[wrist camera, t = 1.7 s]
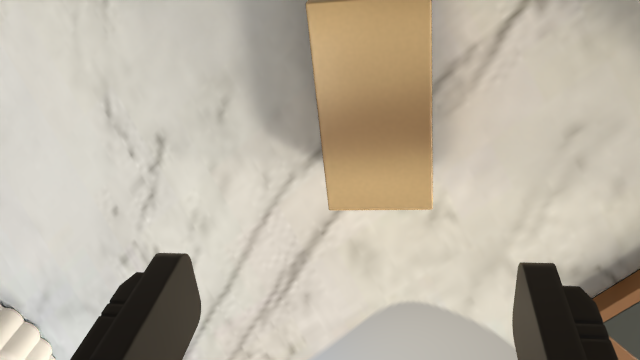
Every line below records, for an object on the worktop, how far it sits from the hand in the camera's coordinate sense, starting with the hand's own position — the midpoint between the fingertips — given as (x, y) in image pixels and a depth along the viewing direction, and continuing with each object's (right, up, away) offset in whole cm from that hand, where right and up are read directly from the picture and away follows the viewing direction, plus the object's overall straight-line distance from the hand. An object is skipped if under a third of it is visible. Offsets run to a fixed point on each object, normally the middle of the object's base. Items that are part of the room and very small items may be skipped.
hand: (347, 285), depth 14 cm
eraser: (+2, +7, +14) cm, 16 cm away
